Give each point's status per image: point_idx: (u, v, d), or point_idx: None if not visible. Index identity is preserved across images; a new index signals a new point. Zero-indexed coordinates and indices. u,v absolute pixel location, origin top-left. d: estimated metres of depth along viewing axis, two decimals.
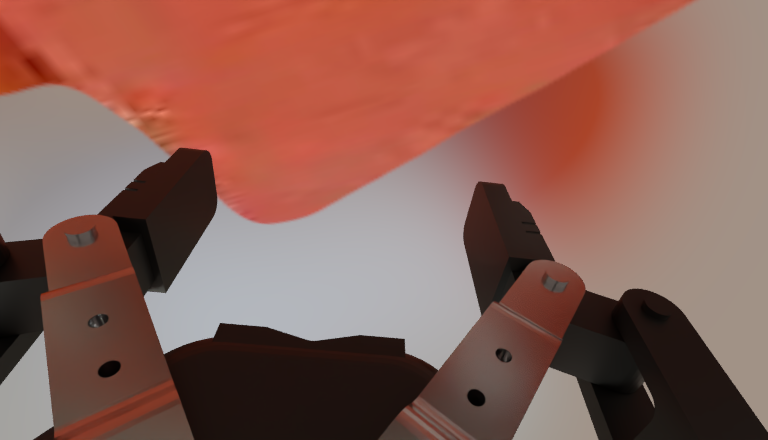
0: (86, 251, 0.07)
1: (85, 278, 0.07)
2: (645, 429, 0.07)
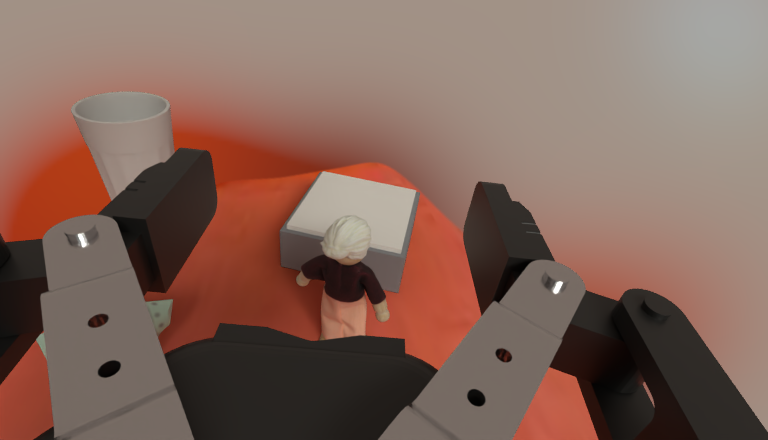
0: (86, 251, 0.07)
1: (85, 278, 0.07)
2: (645, 429, 0.07)
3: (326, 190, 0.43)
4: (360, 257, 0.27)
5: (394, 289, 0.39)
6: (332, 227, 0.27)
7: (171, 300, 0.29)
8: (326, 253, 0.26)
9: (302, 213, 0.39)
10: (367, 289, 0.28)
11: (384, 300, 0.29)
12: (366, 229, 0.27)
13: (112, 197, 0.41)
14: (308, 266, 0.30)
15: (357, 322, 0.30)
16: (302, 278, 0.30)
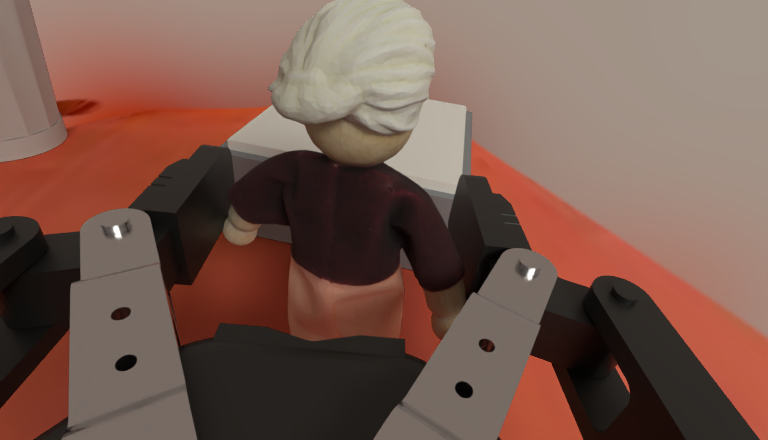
0: (119, 243, 0.08)
1: (124, 268, 0.07)
2: (622, 413, 0.07)
3: None
4: (400, 124, 0.08)
5: None
6: (306, 23, 0.08)
7: None
8: (281, 103, 0.07)
9: (263, 125, 0.20)
10: (413, 245, 0.09)
11: (461, 280, 0.10)
12: (423, 24, 0.08)
13: None
14: (246, 184, 0.11)
15: None
16: (235, 222, 0.11)
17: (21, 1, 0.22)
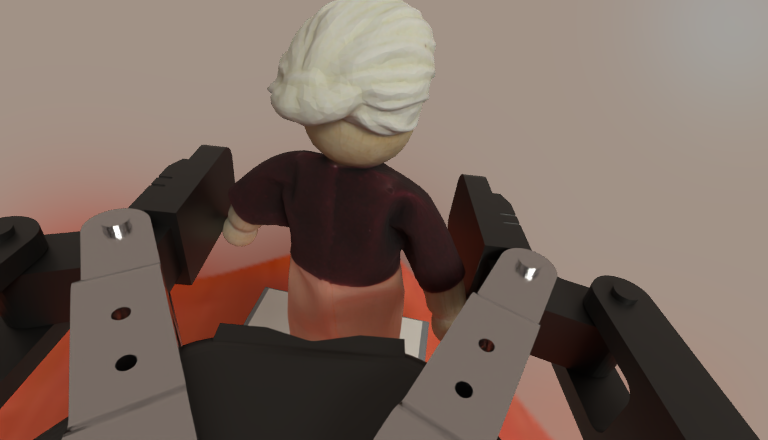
0: (120, 243, 0.08)
1: (124, 268, 0.07)
2: (622, 412, 0.07)
3: None
4: (400, 125, 0.08)
5: None
6: (305, 23, 0.08)
7: None
8: (280, 103, 0.07)
9: None
10: (413, 246, 0.09)
11: (462, 282, 0.10)
12: (423, 24, 0.08)
13: None
14: (245, 184, 0.11)
15: None
16: (234, 223, 0.11)
17: None
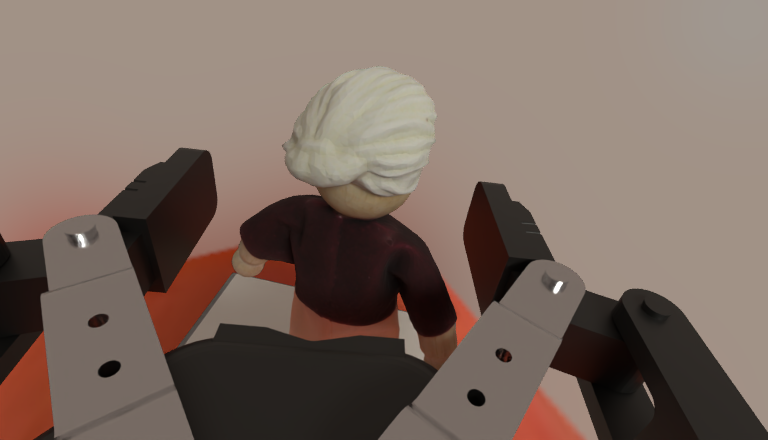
0: (87, 250, 0.07)
1: (85, 278, 0.07)
2: (645, 429, 0.07)
3: None
4: (400, 189, 0.08)
5: None
6: (319, 92, 0.09)
7: None
8: (293, 166, 0.08)
9: None
10: (409, 293, 0.10)
11: (453, 327, 0.10)
12: (425, 100, 0.08)
13: None
14: (256, 224, 0.11)
15: None
16: (244, 257, 0.12)
17: None
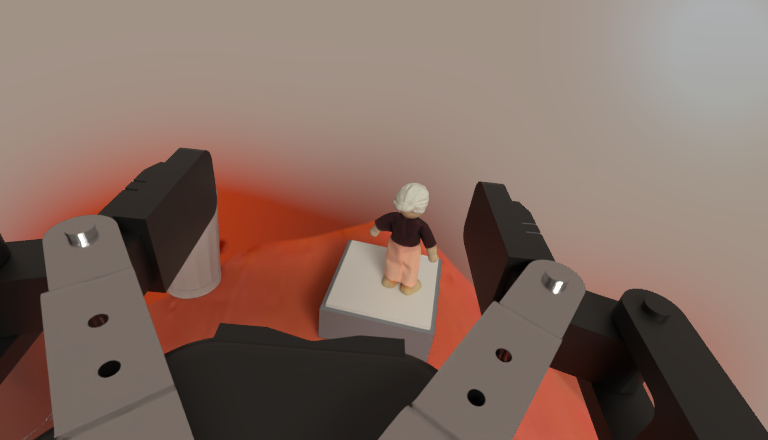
0: (87, 251, 0.07)
1: (85, 278, 0.07)
2: (645, 429, 0.07)
3: (357, 262, 0.47)
4: (421, 211, 0.38)
5: (422, 359, 0.43)
6: (402, 190, 0.38)
7: None
8: (397, 208, 0.38)
9: (338, 290, 0.43)
10: (423, 237, 0.40)
11: (435, 246, 0.40)
12: (426, 192, 0.38)
13: None
14: (380, 220, 0.41)
15: (413, 263, 0.42)
16: (375, 230, 0.42)
17: (216, 223, 0.45)
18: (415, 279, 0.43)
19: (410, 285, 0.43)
